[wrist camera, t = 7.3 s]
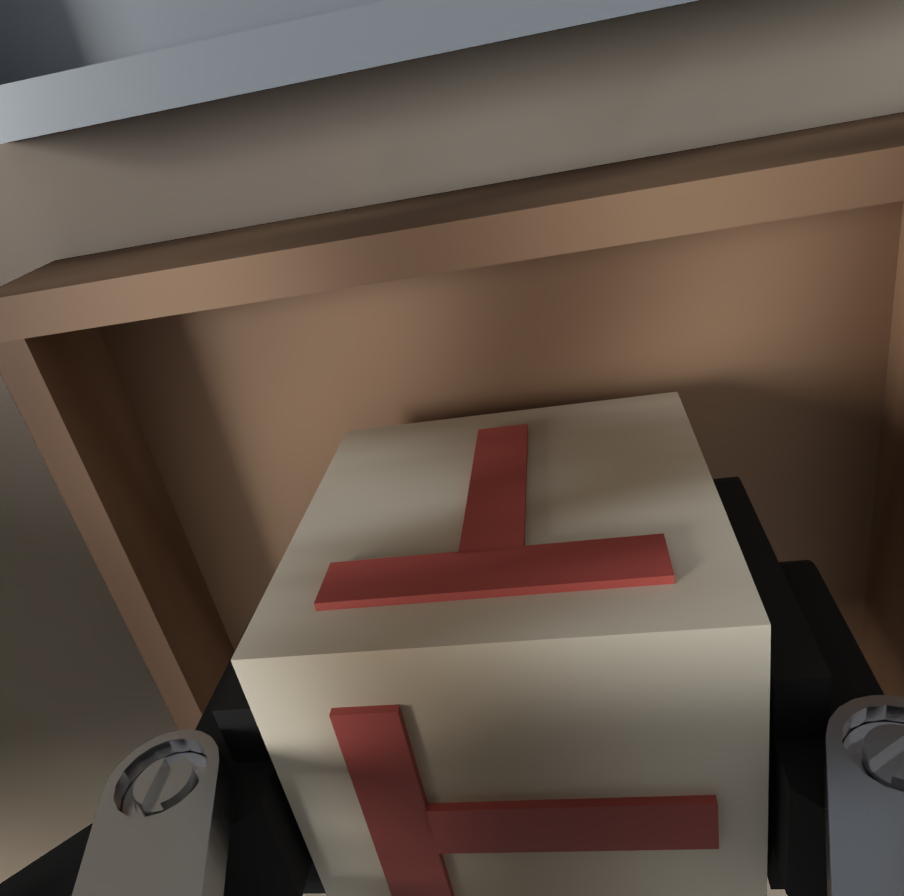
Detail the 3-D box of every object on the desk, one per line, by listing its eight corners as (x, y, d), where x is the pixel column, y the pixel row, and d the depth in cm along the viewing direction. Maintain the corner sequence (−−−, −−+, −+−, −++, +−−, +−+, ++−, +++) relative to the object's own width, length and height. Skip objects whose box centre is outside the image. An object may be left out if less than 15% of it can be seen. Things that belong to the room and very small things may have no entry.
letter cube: (676, 384, 11) (774, 622, 6) (689, 653, 13) (768, 969, 9) (345, 425, 12) (223, 659, 7) (411, 670, 14) (350, 964, 9)
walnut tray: (943, 105, 10) (1042, 122, 8) (879, 668, 15) (931, 764, 13) (54, 260, 12) (-35, 303, 10) (247, 708, 17) (211, 795, 15)
